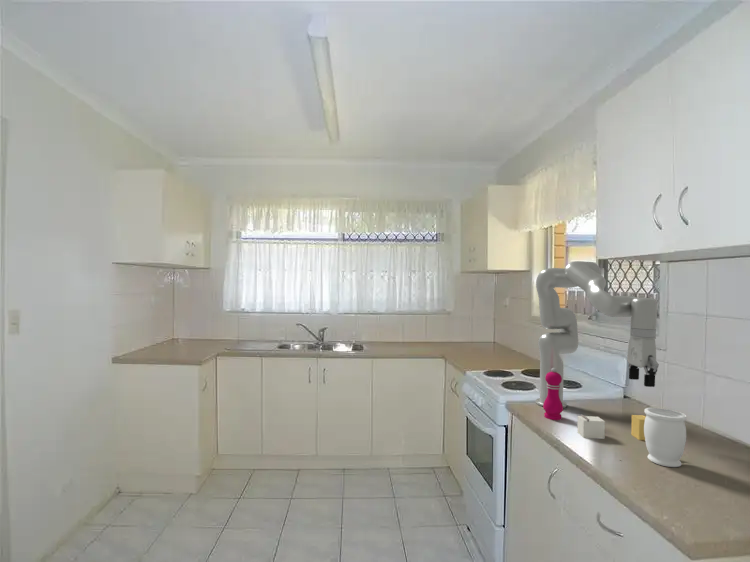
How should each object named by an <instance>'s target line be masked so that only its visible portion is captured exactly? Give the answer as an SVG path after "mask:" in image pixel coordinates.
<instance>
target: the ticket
mask: <svg viewBox="0 0 750 562" xmlns="http://www.w3.org/2000/svg"><path fill="white" fill-rule="evenodd" d="M605 427H606V421H605V420H604V419H602V418H600V416H591V415H589V416H588V415H584V414H580V415H577V434H579V435H580V437H582V438H583V439H602V440H603V439H604V440H605V433H606V431H605V430H606V428H605Z"/></svg>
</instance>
